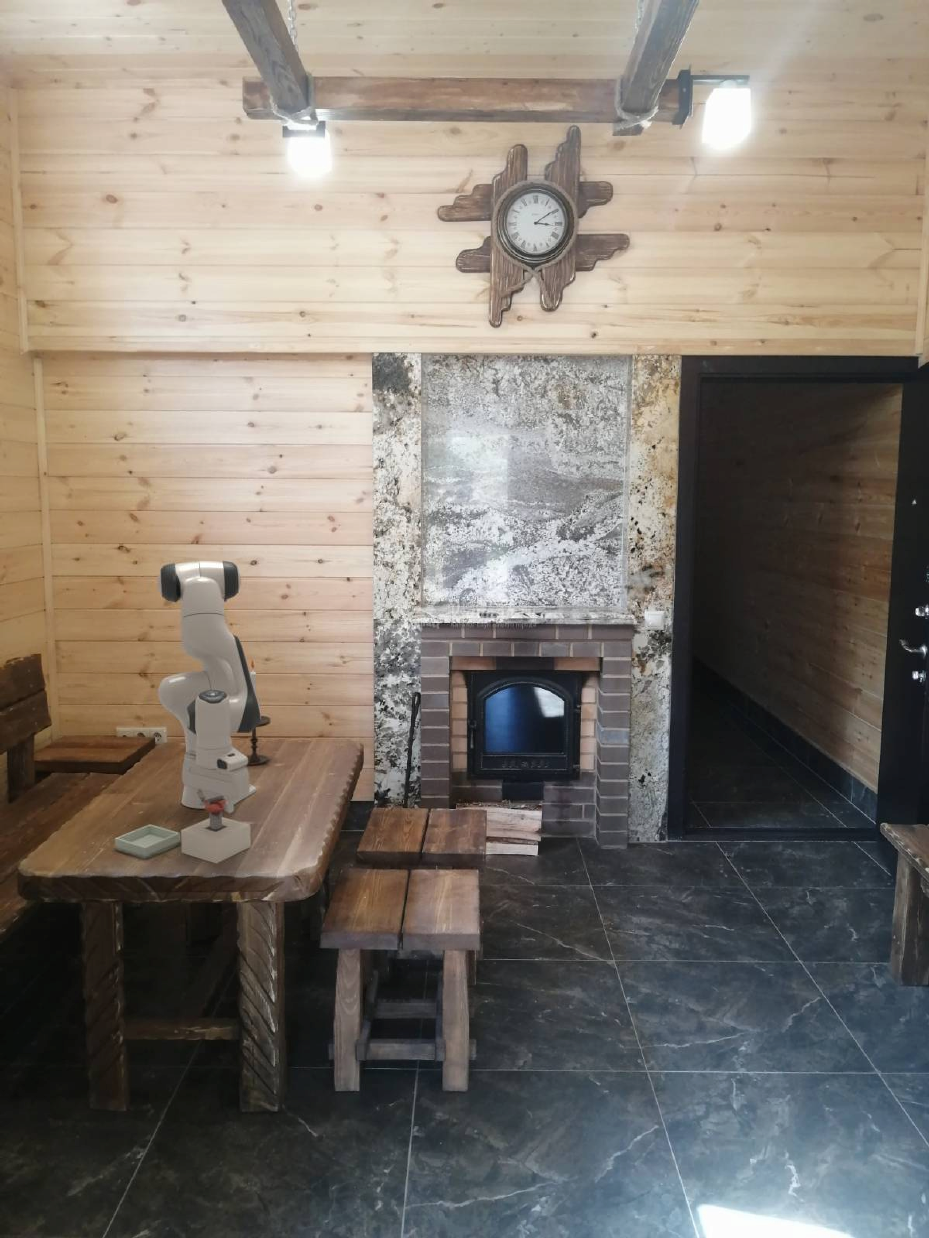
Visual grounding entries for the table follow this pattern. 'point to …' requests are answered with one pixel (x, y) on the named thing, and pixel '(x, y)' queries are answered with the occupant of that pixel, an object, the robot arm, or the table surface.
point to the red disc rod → (215, 811)
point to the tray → (147, 841)
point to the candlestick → (254, 757)
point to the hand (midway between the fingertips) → (215, 808)
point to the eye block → (215, 840)
